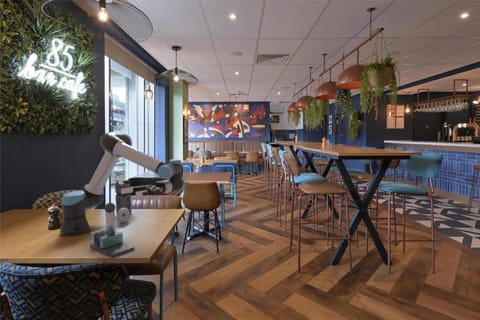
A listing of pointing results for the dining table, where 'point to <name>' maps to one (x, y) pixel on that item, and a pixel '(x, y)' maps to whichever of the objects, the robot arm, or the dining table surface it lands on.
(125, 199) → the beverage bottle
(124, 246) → the nutcracker base
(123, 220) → the donut
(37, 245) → the dining table surface
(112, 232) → the jaw
